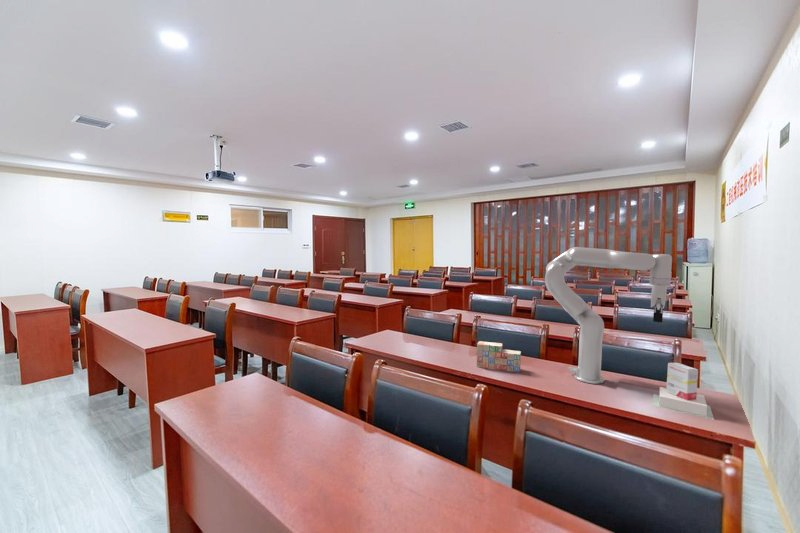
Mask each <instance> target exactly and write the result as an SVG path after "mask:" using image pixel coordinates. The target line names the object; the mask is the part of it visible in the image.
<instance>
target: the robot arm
mask: <svg viewBox="0 0 800 533" xmlns="http://www.w3.org/2000/svg"><path fill="white" fill-rule="evenodd" d="M672 262H673V257H672V255H671V254H668V253H653V254H651V253H645V252H643V253H641V252H630V251H620V250H616V249H615V250H614V249H608V248H607V249H606V248H593V247H582V246H581V247H580V246H573V247H570V248H569V249H567V250H566V251H565V252H562V253H561V254H560V255H559V256H557V257H555V258H554V259H552V260H551V261H549V263H547V265H546V267H545V276H544V283H545V284H544V285H545V287H546V289H547V291H548V292H549V294H550V295H552V296H553V298H554V299H555V301H556V302H558V304H560V306H561V307H562V308H563V309H564V311H565V312H566V313H568V315H569V316H570V317H572V318H573V320H574V321H575V323H577V324H578V325H579V326H580V329H579V330H580V331H579V339H578V340H579V342H578V360H577V361H578V363H577V364H578V365H577V366H576V367H574V366H569V365H568V368H567V370H568V371H569V372H571V373H574V374H573V377H574V379H576V380H578V381H580V382H583V383H587V384H593V385H594V384H595V385H596V384H603V383H605V377H603V376H601V375H602V374H601V373H602V358H603V356H602V355H603V354H602V353H603V351H602V350H603V338H604V331H605V322H604V320H603V318H602V316H600V314H598V313H596V312H595V310H594V309H592V308H591V307H590V305H588V303H587V302H585V301H584V299H583V298H582V297H581V296H580V295H578V294H577V293H576V292H575V291H574V290H573V289H572V287H570V286H569V285H568V283H566V280H565V276H566V273H567V272H569V271H570V270H572V269H573V268H575V267H576V266H583V267H584V266H585V267H595V268H604V269H620V270H621V269H623V270H632V271H633V270H634V271H644V272H646V271H649V285H650V286H651V294H650V295H651V296H650V308H653V307H654V308H653V315H652V316H653V318H652V319H653V320H652V321H653V322H654V323H663V318H664V317H663V315H664V312H663V311H664V310H663V309H665V306H666V299H667V289H668V287H671V282H672V281H671V280H672V264H673V263H672Z"/></svg>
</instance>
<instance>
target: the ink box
mask: <svg viewBox="0 0 800 533" xmlns="http://www.w3.org/2000/svg"><path fill="white" fill-rule="evenodd" d="M666 372H667V374H666V376H667V377H666V387H665V388H666V392H668V393H671V394H673V395H676V396H678V397H681V398H683V399H685V400H693V399H696V396H697V393H698V378H699V369H697V368H695V367H692V366H688V365H686V364H684V363H680V362H668V363H667V371H666Z"/></svg>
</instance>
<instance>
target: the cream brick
mask: <svg viewBox="0 0 800 533" xmlns="http://www.w3.org/2000/svg"><path fill="white" fill-rule="evenodd" d="M666 388H667V387H663V386H659V394H658V395H659V406H660V407H664V408H669V409H673V410H678V411H682V412H687V413H691V414H696V415H700V416H704V417H707V405H708V404H707V401H706V397H705V395H704V394H697V396H696V399H693V400H685V399H683V398H681V397H678V396H676V395H673V394H671V393H668V392H666ZM660 407H659V408H660ZM664 408H663V409H664ZM673 410H672V411H673ZM682 412H681V413H682ZM691 414H690V415H691ZM704 417H703V418H704Z"/></svg>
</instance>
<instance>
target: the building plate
mask: <svg viewBox="0 0 800 533" xmlns="http://www.w3.org/2000/svg"><path fill="white" fill-rule="evenodd" d="M652 407H656V408H660V409H665V410H669V411H673V412H678V413H681V414H683V413H684V414H687V415H691V416H695V417H700V418H705V419H708V420H713V421H714V420H715V418H714V415H713V412H712V408H711V405H708V404H707V417H704V416H700V415H696V414H691V413H687V412H682V411H678V410H673V409H669V408H664V407H660V406H659V394H655V393H653V397H652Z"/></svg>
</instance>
